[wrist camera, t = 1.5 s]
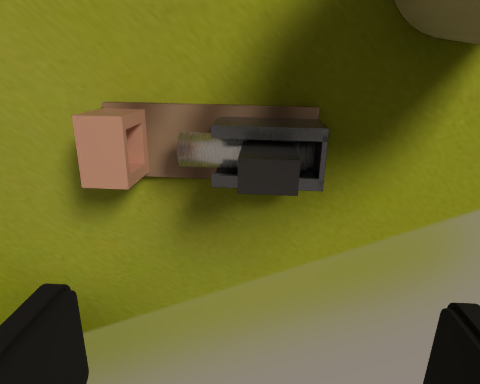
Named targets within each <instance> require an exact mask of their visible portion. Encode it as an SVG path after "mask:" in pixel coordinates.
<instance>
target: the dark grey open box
mask: <svg viewBox="0 0 480 384" xmlns="http://www.w3.org/2000/svg"><path fill="white" fill-rule="evenodd" d="M328 135H329V128H328V127H327V126H326V125H325V124H324V123H323V122H321V121H320V120H319V119H295V118H256V117H219V118H218V119H217V120H216V121H215V122H214V123H213V124H212V125H211V138H218V139H251V140H285V141H314V161H313V167H312V170H311V171H300V174H299V187H298V190H304V191H323V185H324V175H325V165H326V155H327V145H328ZM237 185H238V169H234V168H217V170H216V172H215V173H212V175H211V187H226V188H237Z"/></svg>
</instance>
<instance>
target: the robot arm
mask: <svg viewBox="0 0 480 384" xmlns="http://www.w3.org/2000/svg"><path fill="white" fill-rule="evenodd" d="M88 373H89V370H88V363H87V356H86V351H85V345H84V338H83V332H82V326H81V320H80V313H79V307H78V301H77V295H76V293H75V291H71V289H70V287H69V286H68V285H65V284H43V285H42V286H40V287H39V288H38V289H37V290H36V291H35V292H34V293H33V294H32V295H31V296H30V297H29V298H28V299H27V300H26V301H25V302H24V303H23V304H22V305H21V306H20V307H19V308H18V309H17V310H16V311H15V312H14V313H13V314H12V315H11V316H9V317H8V318H7V319H6V320H5V321H4V322H3V323H2V324H1V325H0V384H86V383H87V380H88ZM423 384H480V306H479V305H478V304H470V303H450V304H449V305H448V307H447V308H445V309H443V310H442V311H441V313H440V317H439V321H438V325H437V330H436V333H435V338H434V342H433V346H432V350H431V354H430V358H429V362H428V366H427V370H426V374H425V378H424V382H423Z"/></svg>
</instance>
